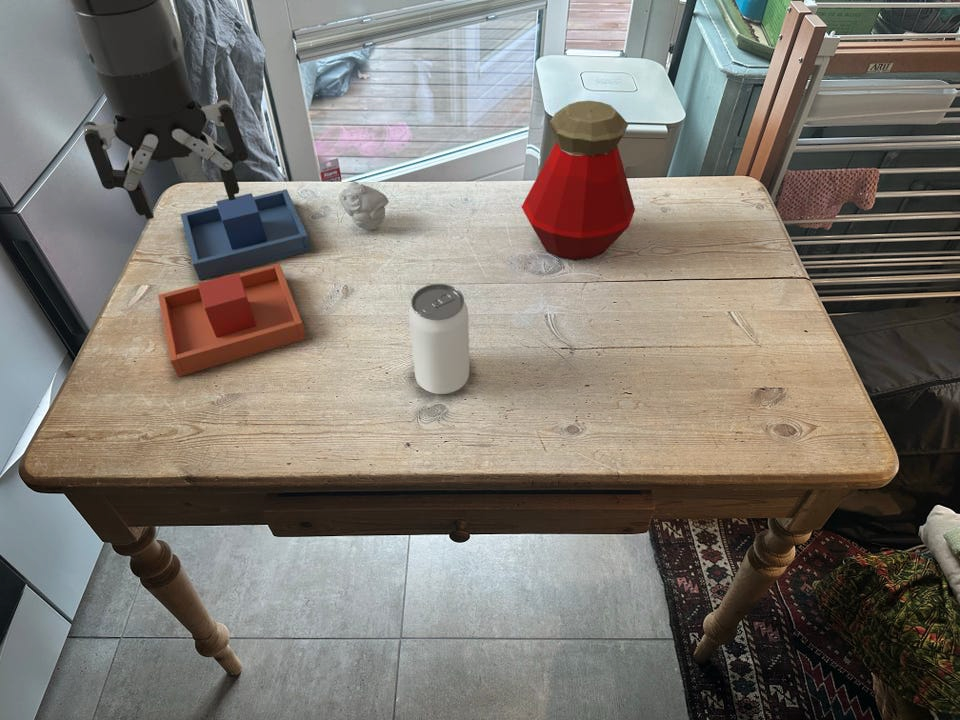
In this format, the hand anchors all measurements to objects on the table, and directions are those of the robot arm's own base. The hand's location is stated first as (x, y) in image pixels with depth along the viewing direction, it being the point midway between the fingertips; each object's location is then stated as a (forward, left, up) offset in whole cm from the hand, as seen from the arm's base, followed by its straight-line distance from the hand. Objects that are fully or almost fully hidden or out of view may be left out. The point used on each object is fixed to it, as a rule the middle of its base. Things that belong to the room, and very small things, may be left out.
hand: (191, 205), depth 73 cm
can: (+21, -19, -18) cm, 34 cm away
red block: (0, 0, -17) cm, 17 cm away
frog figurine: (+22, +13, -18) cm, 31 cm away
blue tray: (+5, +17, -18) cm, 25 cm away
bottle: (+48, -3, -18) cm, 51 cm away
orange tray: (0, 0, -18) cm, 18 cm away
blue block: (+5, +17, -17) cm, 25 cm away
